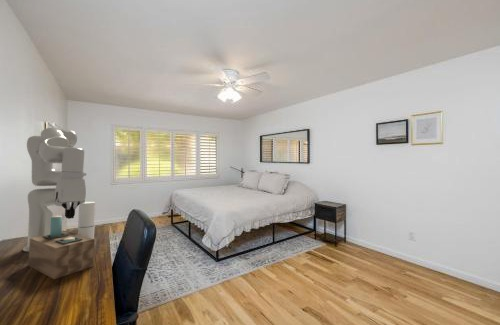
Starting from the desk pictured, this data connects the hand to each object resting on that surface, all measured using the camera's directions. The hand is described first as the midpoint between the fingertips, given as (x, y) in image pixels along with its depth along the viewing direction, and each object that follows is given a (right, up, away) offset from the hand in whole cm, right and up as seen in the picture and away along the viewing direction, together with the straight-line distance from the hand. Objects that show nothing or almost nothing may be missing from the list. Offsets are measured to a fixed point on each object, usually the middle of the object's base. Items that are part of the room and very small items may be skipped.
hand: (69, 217), depth 98 cm
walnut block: (-5, -22, +2) cm, 22 cm away
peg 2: (0, -21, -1) cm, 21 cm away
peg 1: (-10, -13, +5) cm, 17 cm away
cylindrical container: (-9, -23, +22) cm, 33 cm away
